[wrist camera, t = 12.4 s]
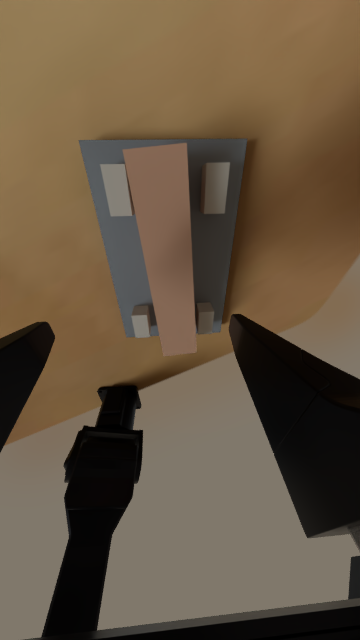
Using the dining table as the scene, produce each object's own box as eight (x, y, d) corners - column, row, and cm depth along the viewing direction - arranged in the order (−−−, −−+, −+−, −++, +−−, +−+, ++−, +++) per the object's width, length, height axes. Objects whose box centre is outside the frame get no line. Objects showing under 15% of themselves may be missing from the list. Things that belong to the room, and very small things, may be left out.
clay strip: (191, 326, 23) (196, 352, 19) (163, 329, 23) (163, 356, 19) (180, 156, 14) (186, 142, 10) (134, 161, 14) (122, 149, 10)
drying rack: (217, 325, 25) (224, 342, 22) (128, 329, 24) (123, 348, 21) (240, 143, 14) (259, 131, 12) (86, 144, 14) (65, 132, 11)
